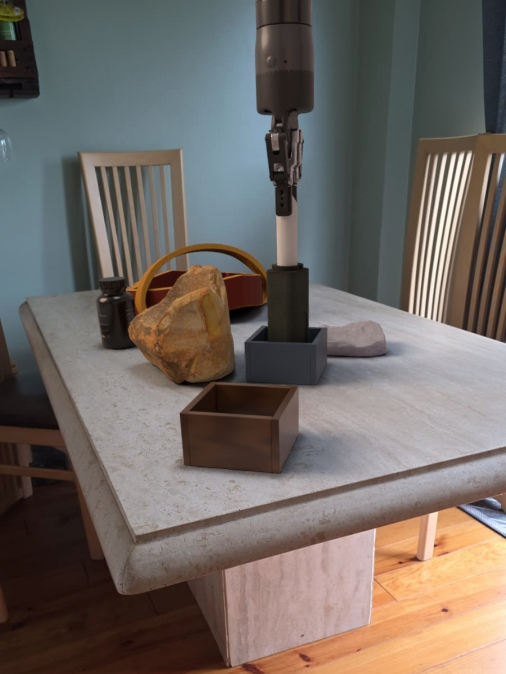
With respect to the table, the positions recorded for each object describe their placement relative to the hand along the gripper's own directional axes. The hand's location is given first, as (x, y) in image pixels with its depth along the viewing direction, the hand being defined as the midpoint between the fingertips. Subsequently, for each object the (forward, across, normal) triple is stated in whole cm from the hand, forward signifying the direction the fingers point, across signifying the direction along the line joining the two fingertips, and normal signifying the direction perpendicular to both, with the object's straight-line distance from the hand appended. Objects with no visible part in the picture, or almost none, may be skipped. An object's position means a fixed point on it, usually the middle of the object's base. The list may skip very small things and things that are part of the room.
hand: (286, 214), depth 87 cm
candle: (+20, 0, 0) cm, 20 cm away
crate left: (+23, -29, -1) cm, 37 cm away
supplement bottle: (+23, +12, +34) cm, 43 cm away
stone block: (+23, +14, -8) cm, 28 cm away
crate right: (+23, 0, 0) cm, 23 cm away
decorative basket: (+23, +41, +27) cm, 54 cm away
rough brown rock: (+23, 0, +17) cm, 29 cm away
